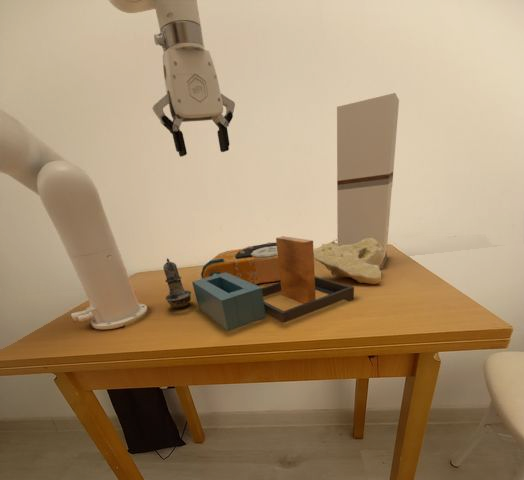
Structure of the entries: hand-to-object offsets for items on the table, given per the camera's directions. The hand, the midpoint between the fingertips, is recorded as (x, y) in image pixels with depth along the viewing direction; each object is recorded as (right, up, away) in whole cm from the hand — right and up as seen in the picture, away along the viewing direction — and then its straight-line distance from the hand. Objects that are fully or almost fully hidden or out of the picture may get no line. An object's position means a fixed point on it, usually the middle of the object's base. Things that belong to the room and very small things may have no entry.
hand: (204, 153), depth 64 cm
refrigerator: (+40, -19, +18) cm, 48 cm away
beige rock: (+33, -26, +8) cm, 43 cm away
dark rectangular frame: (+20, -32, 0) cm, 38 cm away
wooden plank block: (+20, -32, 0) cm, 38 cm away
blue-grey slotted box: (+6, -35, -1) cm, 36 cm away
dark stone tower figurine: (-6, -33, +6) cm, 34 cm away
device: (+12, -21, +21) cm, 32 cm away
